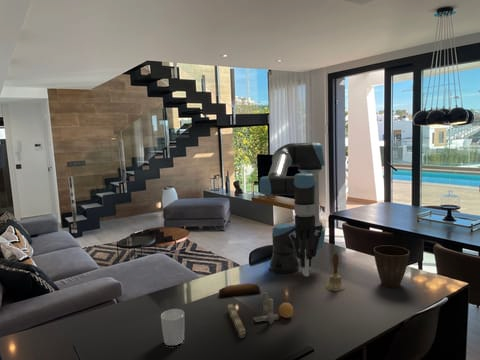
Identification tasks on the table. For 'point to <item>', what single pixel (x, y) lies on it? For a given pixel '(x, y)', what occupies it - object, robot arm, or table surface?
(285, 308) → the ball
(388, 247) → the plant pot
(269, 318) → the pin
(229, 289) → the sunglasses case
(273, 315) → the front pin
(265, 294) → the pin
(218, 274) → the table surface
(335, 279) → the hand bell
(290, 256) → the robot arm
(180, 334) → the white cup
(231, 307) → the grey long bar
